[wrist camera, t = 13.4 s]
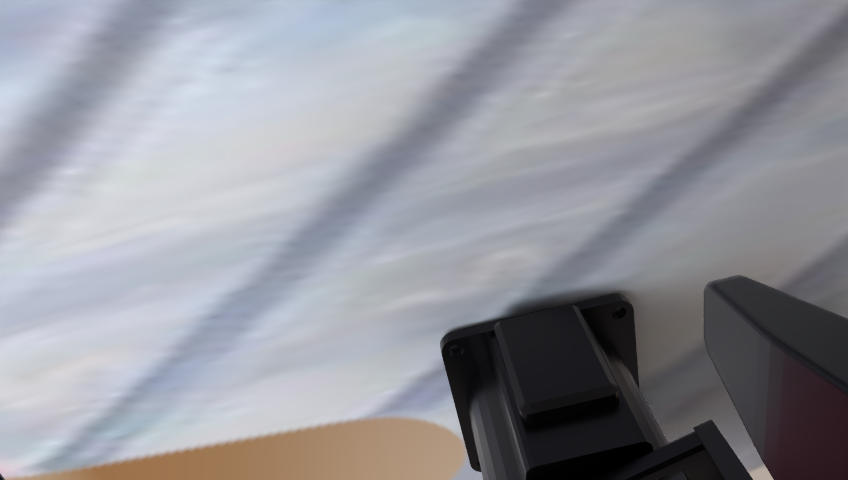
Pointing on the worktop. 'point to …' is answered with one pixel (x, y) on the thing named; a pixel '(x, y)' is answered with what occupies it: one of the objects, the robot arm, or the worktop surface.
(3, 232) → the worktop surface
